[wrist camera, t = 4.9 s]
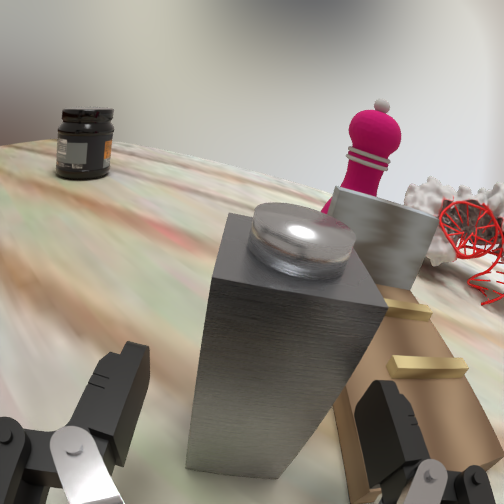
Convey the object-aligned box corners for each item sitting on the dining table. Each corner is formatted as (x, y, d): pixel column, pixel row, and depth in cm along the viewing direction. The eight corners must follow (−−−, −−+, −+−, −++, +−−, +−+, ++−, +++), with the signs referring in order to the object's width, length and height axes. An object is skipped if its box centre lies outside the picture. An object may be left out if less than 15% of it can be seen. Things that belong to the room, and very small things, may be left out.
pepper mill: (363, 281, 33) (420, 107, 25) (304, 261, 35) (353, 84, 26) (362, 257, 40) (407, 112, 31) (311, 240, 41) (352, 93, 32)
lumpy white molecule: (438, 357, 34) (560, 292, 28) (432, 240, 27) (573, 181, 21) (398, 279, 52) (502, 237, 46) (377, 185, 45) (495, 147, 39)
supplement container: (114, 168, 55) (121, 108, 49) (102, 183, 45) (109, 110, 40) (66, 165, 52) (71, 106, 46) (46, 179, 42) (50, 109, 37)
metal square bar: (185, 468, 12) (218, 236, 7) (196, 400, 16) (234, 185, 11) (277, 478, 12) (404, 274, 7) (275, 411, 16) (355, 213, 11)
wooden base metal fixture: (350, 504, 11) (488, 379, 6) (305, 281, 31) (335, 185, 26) (485, 471, 12) (587, 363, 7) (397, 298, 31) (432, 214, 27)
